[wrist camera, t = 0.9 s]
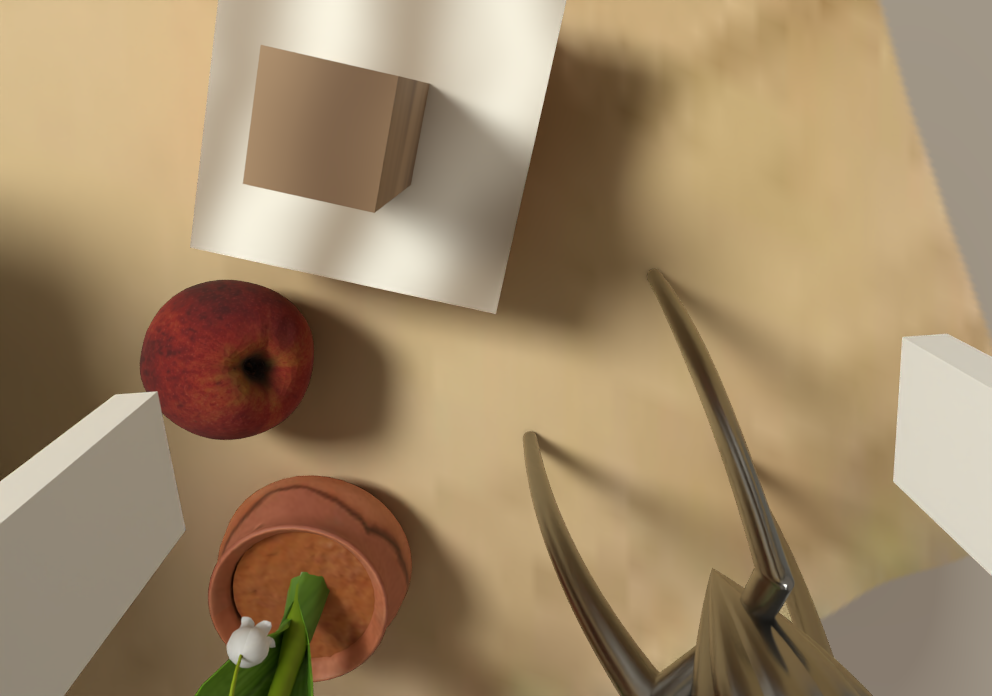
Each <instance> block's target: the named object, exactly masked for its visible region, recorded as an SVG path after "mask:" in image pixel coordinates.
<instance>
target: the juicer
mask: <svg viewBox="0 0 992 696" xmlns="http://www.w3.org/2000/svg"><path fill="white" fill-rule="evenodd" d="M647 280H648V282H649V283H650V285H651V287H652V289H653V291H654V293H655V295H656V297H657V299H658V301H659V304H660V306H661V308H662V310H663V312H664V314H665V316H666V319H667V321H668V323H669V325H670V328H671V330H672V332H673V334H674V337H675V339H676V341H677V344H678V346H679V348H680V351H681V353H682V355H683V358H684V360H685V363H686V365H687V367H688V370H689V372H690V375H691V377H692V380H693V382H694V385H695V387H696V390H697V392H698V395H699V397H700V400H701V402H702V405H703V408H704V410H705V413H706V416H707V418H708V421H709V424H710V426H711V429H712V432H713V435H714V437H715V440H716V443H717V446H718V449H719V452H720V455H721V458H722V461H723V463H724V466H725V469H726V472H727V475H728V479H729V482H730V485H731V488H732V491H733V494H734V497H735V501H736V504H737V507H738V510H739V514H740V517H741V520H742V524H743V527H744V531H745V534H746V538H747V541H748V545H749V548H750V552H751V555H752V559H753V563H754V567H755V568H754V570H753V572H752V574H751V576H750V578H749V580H748V582H747V584H746V586H745V588H743V587H742V586H740V585H739V584H737V583H736V582H734V581H733V580H731V579H729V578H728V577H726V576H725V575H723V574H721V573H720V572H718V571H717V570H715V569H713V568H712V570H711V573H710V577H709V581H708V585H707V589H706V593H705V598H704V603H703V608H702V613H701V619H700V624H699V630H698V636H697V642H696V646H695V647H693V648H692V649H691V650H689V651H688V652H687V653H685V654H684V655H683V656H681V657H680V658H679V659H677V660H676V661H675V662H674V663H672V664H671V665H670V666H668V667H667V668H666V669H664V670H663V671H662V672H659V671H658V670H656V668H655V667H654V666H653V665H652V663H651V662H650V661H649V659H648V658H647V657H646V656H645V654H644V653H643V652H642V651H641V649H640V648H639V647H638V645H637V644H636V643H635V641H634V640H633V639H632V637H631V636H630V634H629V633H628V632H627V630H626V629H625V627H624V626H623V625H622V623H621V622H620V620H619V619H618V617H617V616H616V614H615V613H614V611H613V610H612V608H611V607H610V605H609V604H608V602H607V601H606V599H605V597H604V596H603V594H602V593H601V591H600V589H599V588H598V586H597V584H596V583H595V581H594V579H593V578H592V576H591V574H590V572H589V571H588V569H587V567H586V565H585V563H584V561H583V560H582V558H581V556H580V554H579V552H578V550H577V548H576V546H575V544H574V542H573V540H572V538H571V536H570V534H569V531H568V529H567V527H566V525H565V523H564V520H563V518H562V516H561V513H560V511H559V508H558V506H557V503H556V501H555V498H554V495H553V492H552V490H551V487H550V484H549V481H548V478H547V474H546V471H545V468H544V464H543V460H542V457H541V453H540V448H539V444H538V439H537V435H536V434H535V433H534V432H531V431H529V432H526V433H525V434H524V436H523V447H524V457H525V465H526V471H527V477H528V483H529V488H530V492H531V497H532V501H533V505H534V509H535V513H536V516H537V520H538V523H539V526H540V530H541V533H542V536H543V539H544V542H545V545H546V548H547V551H548V553H549V556H550V559H551V561H552V564H553V567H554V569H555V572H556V574H557V576H558V579H559V581H560V584H561V586H562V588H563V591H564V593H565V595H566V597H567V599H568V602H569V604H570V606H571V608H572V610H573V612H574V614H575V616H576V618H577V620H578V622H579V624H580V626H581V628H582V630H583V632H584V634H585V636H586V638H587V639H588V641H589V643H590V645H591V647H592V649H593V651H594V652H595V654H596V656H597V658H598V659H599V661H600V663H601V665H602V666H603V668H604V670H605V672H606V673H607V675H608V677H609V678H610V680H611V682H612V683H613V685H614V687H615V688H616V690H617V692H618V693H619V695H620V696H873V695H872V694H871V693H870V692H869V691H868V690H867V689H866V688H865V687H864V686H863V685H862V684H861V683H860V682H859V681H858V680H857V679H856V678H855V677H854V676H853V675H852V674H851V673H850V672H849V671H848V670H847V669H846V668H844V667H843V666H842V665H841V664H840V663H839V662H838V661H837V660H836V659H835V658H834V656H833V653H832V650H831V648H830V645H829V642H828V640H827V637H826V634H825V631H824V629H823V626H822V623H821V621H820V618H819V616H818V613H817V610H816V608H815V605H814V603H813V600H812V598H811V596H810V593H809V591H808V588H807V586H806V584H805V581H804V579H803V577H802V574H801V572H800V570H799V567H798V565H797V563H796V561H795V558H794V556H793V554H792V552H791V550H790V548H789V546H788V544H787V541H786V539H785V537H784V535H783V533H782V531H781V529H780V527H779V525H778V523H777V521H776V520H775V518H774V516H773V514H772V512H771V510H770V508H769V505H768V503H767V500H766V497H765V494H764V491H763V488H762V486H761V483H760V480H759V477H758V474H757V472H756V469H755V466H754V463H753V461H752V458H751V455H750V452H749V450H748V447H747V444H746V442H745V439H744V436H743V434H742V431H741V429H740V426H739V423H738V421H737V418H736V416H735V413H734V411H733V408H732V406H731V403H730V401H729V398H728V396H727V393H726V391H725V388H724V386H723V384H722V381H721V379H720V377H719V374H718V372H717V370H716V368H715V365H714V363H713V361H712V359H711V357H710V354H709V352H708V350H707V348H706V346H705V344H704V342H703V340H702V338H701V336H700V334H699V332H698V330H697V328H696V327H695V325H694V323H693V321H692V319H691V317H690V316H689V314H688V312H687V310H686V309H685V307H684V305H683V304H682V302H681V301H680V299H679V297H678V296H677V294H676V293H675V291H674V290H673V288H672V287H671V286H670V284H669V283H668V281H667V280H666V279H665V277H664V276H663V275H662V274H661V272H660V271H659V270H658V269H651V270H650V271H649V272H648V274H647ZM785 602H786V605H787V608H788V610H789V613H790V616H791V619H792V622H793V623H792V622H791V621H789V620H788V619H787V618H785V617H784V616H783V615H781V614H780V613H779V611H780V609H781V607H782V606H783V604H784V603H785Z"/></svg>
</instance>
